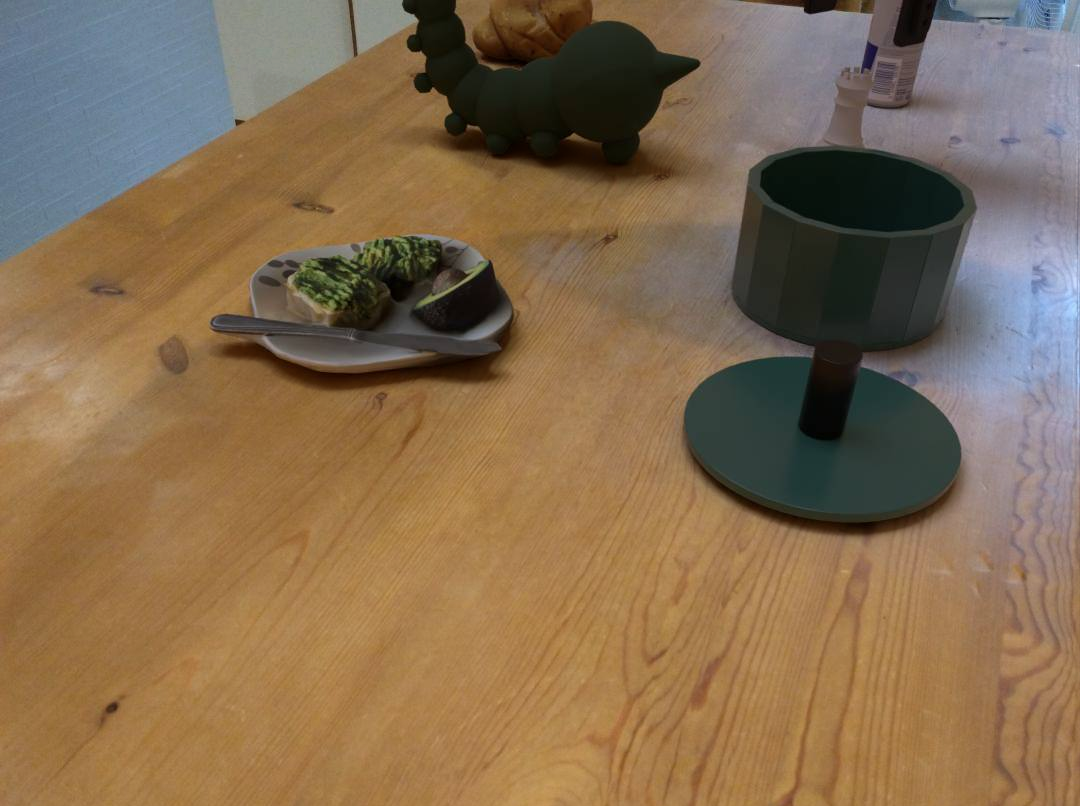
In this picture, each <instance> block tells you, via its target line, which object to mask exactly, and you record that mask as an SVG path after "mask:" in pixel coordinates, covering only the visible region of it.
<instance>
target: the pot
mask: <svg viewBox="0 0 1080 806" xmlns="http://www.w3.org/2000/svg"><path fill="white" fill-rule="evenodd" d="M742 207H743V208H742V214H741V220H740V226H739V234H738V240H737V246H736V253H735V259H734V266H733V272H732V280H731V294H732V297H733V300H734V302H735V304H736V305H737V306H738V308H739V309H740V310H741V311H742V312H743V313H744V314H745V315H746V316H747V317H749V319H750V320H752V321H753V322H755V323H756V324H757V325H759V326H761V327H762V328H765V329H766V330H768V331H770V332H773V333H775V334H777V335H779V336H781V337H784V338H786V339H790V340H792V341H796V342H799V343H803V344H805V345H810V346H814V347H815V346H816V345H817V344H818V343H820V342H822V341H825V340H842V341H846V342H849V343H852V344H854V345H856V346H857V347H858V348H860V349H861V351H862V352H874V351H885V350H886V351H887V350H893V349H898V348H901V347H906V346H909V345H912V344H915V343H917V342H918V341H922V340H923V339H925V338H927V337H928V336H929V335H931V334H932V333H933V332H934V331H935V330H936V329H937V328H938V326H939V325H940V323H941V321H942V317H943V316H944V315H945V313H946V312H947V307H948V305H949V301H950V298H951V295H952V292H953V289H954V286H955V281H956V279H957V276H958V272H959V268H960V266H961V262H962V259H963V256H964V253H965V249H966V247H967V243H968V240H969V237H970V233H971V230H972V226H973V223H974V220H975V217H976V214H977V210H978V206H977V203H976V199H975V197H974V193H973V190H972V189H971V188H970V187H968V186H967V185H966V184H964V182H962V181H961V180H960V179H959V178H957V177H956V176H955V175H954V174H953V173H950V172H949V171H946V170H944V169H942V168H939V167H937V166H935V165H932V164H930V163H927V162H925V161H923V160H920V159H917V158H915V157H911V156H905V155H901V154H898V153H893V152H889V151H885V150H881V149H876V148H875V149H874V148H866V147H865V148H855V147H844V146H821V147H816V146H806V147H805V146H803V147H796V148H792V149H788V150H785V151H781V152H777V153H774V154H770V155H767V156H765V157H764V158H763V159H761V160H760V161H758V162H757V163H755V165H753V166H752V167H750V169H749V170H748V176H747V182H746V188H745V195H744V202H743V206H742Z"/></svg>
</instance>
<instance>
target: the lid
mask: <svg viewBox="0 0 1080 806" xmlns="http://www.w3.org/2000/svg"><path fill="white" fill-rule="evenodd" d="M863 359H864V353H863V351H861V349H860V348H858V347H857V346H856V345H854V344H852V343H849V342H846V341H842V340H825V341H822V342H820V343H818V344H817V345H816V346H814V349H813V354H812V357H811V356H771V357H762V358H756V359H750V360H745V361H742V362H738V363H735V364H732V365H730V366H727V367H724V368H722V369H720V370H718V371H716V372H714V373H713V374H711V375H709V376H708V377H706V378H705V379H704V380H703V381H701V383H699V384H698V385H697V386H696V388H695V389H694V390H693V391H692V392H691V394H690V396H689V397H688V400H687V401H686V404H685V408H684V412H683V420H682V421H683V422H682V423H683V424H682V428H683V433H684V439H685V441H686V444H687V446H688V449H689V450H690V452H691V454H692V455H693V457H694V458H695V460H696V461H697V462H698V464H699V465H700V466H701V467H702V468H703V469H704V470H705V472H707V473H708V474H709V475H710V476H711V477H713V478H714V479H715V480H716V481H717V482H718V483H720V484H722V485H723V486H724V487H726V488H727V489H729V490H731V491H732V492H734V493H736V494H738V495H739V496H741V497H743V498H745V499H747V500H748V501H751V502H754V503H756V504H758V505H761V506H763V507H764V508H765V507H766V508H768V509H770V510H771V509H772V510H775V511H777V512H780V513H784V514H787V515H791V516H796V517H799V518H805V519H811V520H816V521H822V522H832V523H833V522H834V523H871V522H880V521H886V520H887V521H888V520H892V519H897V518H901V517H905V516H907V515H911V514H914V513H915V512H918V511H921V510H923V509H925V508H927V507H929V506H930V505H932V504H934V503H935V502H937V501H938V500H939V499H940V498H941V497H943V495H945V494H946V493H947V492H948V490H950V488H951V487H952V485H953V484H954V482H955V479H956V477H957V476H958V473H959V470H960V467H961V463H962V445H961V442H960V438H959V435H958V433H957V431H956V429H955V427H954V426H953V424H952V422H951V421H950V420H949V419H948V417H947V416H946V415H945V413H944V412H942V410H941V409H939V407H937V405H935V404H934V403H933V402H932V401H930V399H928V398H927V397H926V396H924V394H921V393H920V392H918V391H917V390H915V389H914V388H913V387H911V386H909V385H907V384H905V383H903V382H901V381H899V380H897V379H896V378H894V377H891V376H889V375H886V374H884V373H881V372H879V371H875V370H872V369H870V368H868V367H863V366H862V363H863Z"/></svg>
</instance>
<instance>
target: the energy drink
mask: <svg viewBox="0 0 1080 806" xmlns="http://www.w3.org/2000/svg"><path fill="white" fill-rule="evenodd" d="M902 1H903V0H875V2H874V8H873V11H872V17H871V21H870V26H869V31H868V36H867V40H866V45H865V49H864V54H863V59H862V63H861V67H860V71H859V73H862V74H863V71H864V69H865V68H866V69H869V70H870V72H872V77H871V79H872V81H873V83H874V87H873V88H872V89H871V90H870V91H869V92H868V93H867V96H866V101H867V105H869V106H874V107H877V108H878V107H879V108H889V109H891V108H899V107H900V108H901V107H903V106H905V105H906V104H908V103H909V102H910V101H911V99H912V95H913V90H914V86H915V82H916V80H917V79H916V78H917V75H918V70H919V67H920V62H921V58H922V54H923V50H924V47H925V42H926V40H925V41H924V42H923V43H919V44H914V45H910V46H905V47H898V46H895V45H894V43H893V38H894V34H895V30H896V26H897V22H898V18H899V14H900V9H901V5H902Z"/></svg>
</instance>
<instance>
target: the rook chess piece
mask: <svg viewBox="0 0 1080 806" xmlns="http://www.w3.org/2000/svg"><path fill="white" fill-rule="evenodd" d="M860 72H861V66H854V67H853V71H851V67H850V66H845V67H843V68H841V71H840V75H838V77H837V78H836V79H835V80H834V84H835V86H836V88H837V91H838V92H837V96H836V97H834V99H833V103H834V110H833V112H832V116H831V119H830V122H829V125H828V128H827V129H826V131H825V132H824V133H823V134H822V138H821V139H820V140H819V141H817V143H816V144H815V147H821V146H844V147H855V148H866V147H865V145H864V143H863V142H864V138H863V137H862V122H863V116H864V115H863V114H864V110H865V108H866V106H868V104H867V101H866V96H867V93H868V92H869V91H870V90H871V89H872V88H873V87H874V83H873V81H872V79H871V77H872V72H870V70H869V69H866V68H865V69H864V71H863V74H862V73H860Z"/></svg>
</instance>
